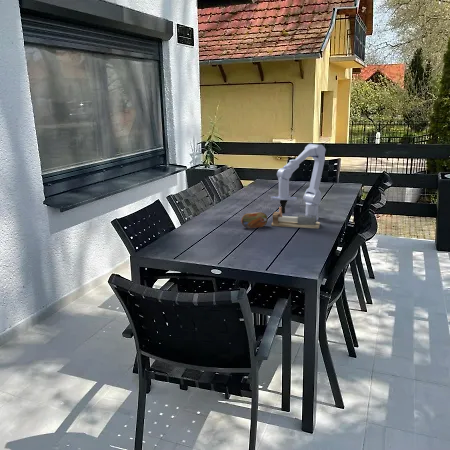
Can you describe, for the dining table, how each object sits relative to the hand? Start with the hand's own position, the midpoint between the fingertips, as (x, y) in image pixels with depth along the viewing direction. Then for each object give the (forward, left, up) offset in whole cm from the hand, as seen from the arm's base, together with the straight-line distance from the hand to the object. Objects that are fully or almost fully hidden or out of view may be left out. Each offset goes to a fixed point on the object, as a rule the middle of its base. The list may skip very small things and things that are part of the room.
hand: (283, 213), depth 264 cm
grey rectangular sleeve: (0, +13, -7) cm, 15 cm away
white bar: (0, +3, -5) cm, 6 cm away
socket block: (0, -4, -7) cm, 8 cm away
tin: (+9, -15, -7) cm, 19 cm away
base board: (0, +7, -7) cm, 10 cm away
